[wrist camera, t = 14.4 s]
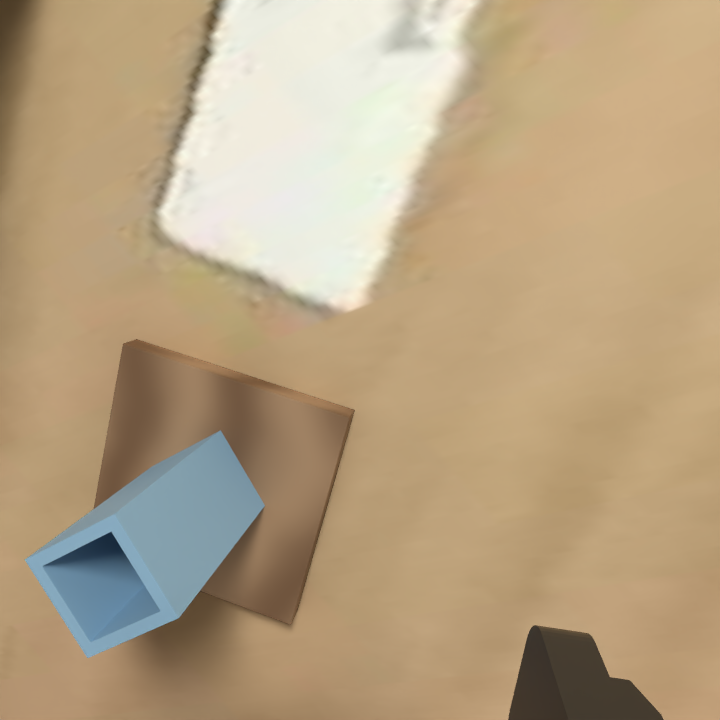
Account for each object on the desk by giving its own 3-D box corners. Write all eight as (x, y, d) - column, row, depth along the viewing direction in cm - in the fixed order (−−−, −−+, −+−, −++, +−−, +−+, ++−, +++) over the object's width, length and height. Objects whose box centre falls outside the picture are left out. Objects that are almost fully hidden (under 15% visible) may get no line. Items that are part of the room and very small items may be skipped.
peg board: (100, 537, 41) (20, 603, 34) (136, 339, 38) (56, 365, 30) (297, 610, 40) (257, 695, 32) (354, 410, 36) (323, 456, 29)
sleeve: (195, 538, 38) (87, 658, 28) (152, 466, 38) (24, 559, 27) (264, 505, 37) (179, 618, 26) (220, 430, 36) (114, 513, 26)
